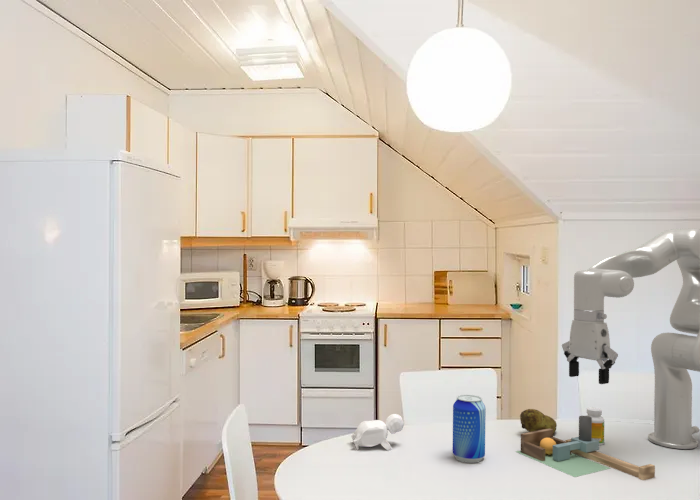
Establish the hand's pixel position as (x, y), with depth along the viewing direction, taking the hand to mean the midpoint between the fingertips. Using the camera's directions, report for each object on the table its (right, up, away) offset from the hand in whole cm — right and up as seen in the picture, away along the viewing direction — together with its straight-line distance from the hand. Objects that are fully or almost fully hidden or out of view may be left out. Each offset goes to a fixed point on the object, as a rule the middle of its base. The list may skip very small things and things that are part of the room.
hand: (588, 379), depth 156 cm
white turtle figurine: (-56, -20, +6) cm, 60 cm away
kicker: (-5, -20, -2) cm, 21 cm away
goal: (-11, -20, 0) cm, 23 cm away
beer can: (-33, -20, -3) cm, 39 cm away
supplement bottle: (+6, -21, +11) cm, 24 cm away
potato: (-8, -21, +17) cm, 28 cm away
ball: (-11, -16, +1) cm, 20 cm away
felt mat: (-9, -20, -4) cm, 23 cm away
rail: (+2, -20, -6) cm, 21 cm away
